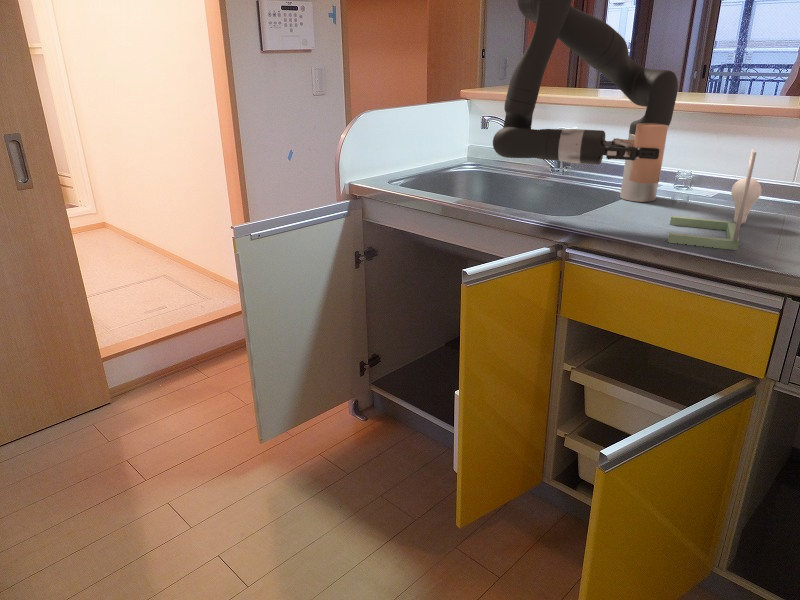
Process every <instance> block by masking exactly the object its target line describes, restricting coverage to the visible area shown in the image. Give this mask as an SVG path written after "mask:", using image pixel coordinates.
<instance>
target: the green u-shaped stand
mask: <svg viewBox="0 0 800 600" xmlns="http://www.w3.org/2000/svg"><path fill="white" fill-rule="evenodd" d="M756 156H757V152H756V151H755V150H754V148H751V150H750V155H749V161H748V167H747V173H746V177H745V178H746V182H745V187H744V191H743V196H742V201H741V205H740V210H739V215H738V219H737V223H736V222H735V221H730V220H722V219H721V220H719V219H709V218H699V217H689V216H688V217H687V216H681V215H680V216H678V215H671V216H670V221H669V222H670V223H669V225H671V226H680V227H688V228H689V227H690V228H699V229H711V230H719V231H720V230H721V231H726V236H727V238H724V237H723V238H722V237H713V236H705V235H695V234H687V233H685V234H684V233H676V232H668V235H667V243H668V242H669V243H670V244H677V243H678V245H685V244H687V246H694V245H696V246H697V247H703V246H704V247H705V248H712V247H713V248H714V249H715V248H716V249H722V250H730V251H731V250H732V251H738V250H739V247H740V246H739V245H740V239H739V234H740V229H741V227H742V226H741V225H742V224H741V221H742V217H743V212H744V208H745V203H746V198H747V194H748V189H749V185H750V180H751V178H752V175H753V170H754V166H755V160H756V158H757V157H756ZM696 246H695V247H696Z"/></svg>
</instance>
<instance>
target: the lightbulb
mask: <svg viewBox="0 0 800 600" xmlns="http://www.w3.org/2000/svg"><path fill="white" fill-rule="evenodd" d="M745 182H746V177H743V178H740V179H738V180H737V181H736V182H735V183H733V185H732V187H731V191H730V192H731V197H732V201H733V203H734V218H733V222H735V224H737V219H738V215H739V210H740V205H741V201H742V196H743V191H744V187H745ZM761 195H762V186H761V184H760V182H759V181H758V180H757V179H755V178H753V177H751V180H750V185H749V189H748V194H747V198H746V203H745V208H744V212H743V217H742V221H741V225H743V224H745V223H746V222H747V219H748V215H749V214H750V212H751V209H752V207H753V205H754V204H755V203H756V202H757V201H758V200H759V198H760V197H761Z"/></svg>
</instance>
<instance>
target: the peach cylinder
mask: <svg viewBox="0 0 800 600" xmlns="http://www.w3.org/2000/svg"><path fill="white" fill-rule="evenodd" d="M668 129H669V127H668V125H665V124H656V123H639V124H637V125H636V132H635V139H634V146H636V147H637V146H639V147H644V148H658V149H659V150H660V151H659V157H658V159H645V158H640V157H639V159H635V160H633V161H632V160H631V167H630V174H629V180H630V181H632V182H637V183H658V184H659V183H660V178H661V171H662V166H663V161H664V160H663V159H664V153H665V148H666V142H667V135H668V131H669V130H668Z"/></svg>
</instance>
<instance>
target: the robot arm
mask: <svg viewBox="0 0 800 600" xmlns="http://www.w3.org/2000/svg"><path fill="white" fill-rule="evenodd" d="M572 1H573V0H516V2H517V6H518V9H519V11H520V13H521V14H522V15H523V16H524V18H526V19H527V20H529V21H530V22H532V23H534V24H535V26H534V27H535V28H534V31H533V34H532V37H531V40H530V42H529V44H528V46H527V47H526V49H525V52H524V53H523V55H522V57H521V58H520V60H519V61H518V63H517V65H516V66H515V69H514V70H513V72H512V75H511V78H510V80H509V84H508V89H507V93H506V97H505V101H504V109H503V110H504V112H505V118H504V122H503V127H502V128H501V129H499V130H498V131H496V133H495V134H494V135H493V138H492V147H493V149H494V152H495V153H496V154H497V155H498V156H501V157H502V158H506V159H538V160H539V159H540V160H543V161H544V160H545V161H556V162H558V161H561V162H565V163H570V164H581V165H582V164H585V165H596V166H597V165H600V164H601V163H602V161H603V158H604V156H606V157H605V158H606V159H607V160H621V161H622V160H623V161H624V166H623V167H624V168H623V173H622V182H621V188H620V196H619V197H620V198H621V199H623V200H624V201H625V200H627V201H630V202H639V203H641V202H642V203H648V202H654V201H655V200H656V198H657V195H658V194H657V193H658V187H659V182H658V183H637V182H632V181H630V180H629V174H630V167H631V160H632V161H633V160H635V159H639V157H640V158H645V159H658V157H659V151H660V150H659V149H658V148H644V147H639V146H637V147H636V146H634V139H635V132H636V125H637V124H639V123H656V124H665V125H668V128H669V127H670V125H671V122H672V119H673V114H674V110H675V105H676V101H677V96H678V89H679V80H678V77H677V75H676V73H675V72H673V71H672V70H668V69H654V68H653V69H652V68H647V67H644V66H642V65H640V64H639V63H638V62H636V61H634V60H633V59H632V58H631V56H630V54H629V48H628V44H627V41H626V40H625V38H624V37H623V36H622V35H621V34H620V33H619V32H618V31H617V30H615V28H613V27H612V26H611V25H610V24H608V23H607V22H605V21H603V20H602V19H599V18H597V17H596V16H593V15H591V14H589V13H586V12H584V11H582V10H580V9H577V8H575V7H573V6H571V5H572ZM558 40H559V41H560V42H562V43H563V44H564V45H565V46H566V47H567V48H569V49H570V50H571V51H572V52H574V53H575V54H576V55H577V56H578V57H579V58H581V60H582V61H584V62H585V63H586V64H587V65H589V66H590V67H592V68H593V69H594V70H596V71H597V72H598V73H600V75H603V77H604V78H606V79H608V80H609V81H611V83H613V84H614V85H615V86H616V87H617V88H618V89H619V90H620V91H621V92H622V93H623V94H624V96H626V97H627V99H628V100H629V101H630V102H632V103H633V104H634V105H636V106H639V107H646V108H645V109H646V110H645V113H644V115H643V116H642V117H641V118H640V119H637V120H634V121H632V122H631V123H630V125H629V130H628V139H623V138H618V137H617V138H613V139H612V140H606V132H605V130H602V129H601V130H597V129H581V128H569V129H561V128H542V129H541V128H540V129H534V128H532V126H533V125H532V123H533V114H534V111H535V108H536V104H537V100H538V97H539V93H540V89H541V84H542V82H543V79H544V76H545V71H546V69H547V66H548V63H549V60H550V58H551V56H552V53H553V50H554V49H555V46H556V44H557V41H558Z"/></svg>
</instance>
